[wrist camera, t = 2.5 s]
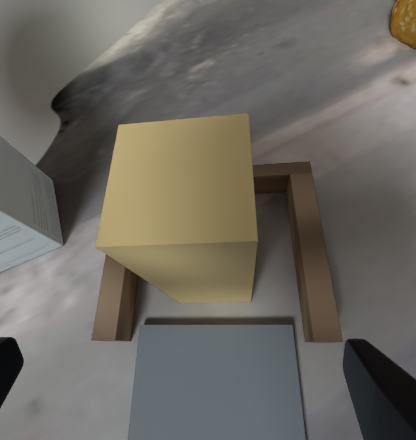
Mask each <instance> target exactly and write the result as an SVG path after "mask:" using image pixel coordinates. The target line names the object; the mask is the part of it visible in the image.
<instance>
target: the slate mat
mask: <svg viewBox="0 0 416 440" xmlns="http://www.w3.org/2000/svg"><path fill="white" fill-rule="evenodd" d="M128 440H306V438H305V429H304V421H303V412H302V403H301V394H300V386H299V377H298V368H297V360H296V351H295V342H294V333H293V325H140V329H139V338H138V348H137V358H136V367H135V377H134V386H133V396H132V405H131V415H130V424H129V434H128Z"/></svg>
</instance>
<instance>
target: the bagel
mask: <svg viewBox="0 0 416 440" xmlns="http://www.w3.org/2000/svg"><path fill="white" fill-rule="evenodd" d="M390 28H391V34H392V36H393V37H395V38H396V39H398V40H399V41H400V42H402V43H405V44H407V45H408V46H410V47H412V48H414V49H416V0H396V3H395V5H394V7H393V9H392V16H391V23H390Z"/></svg>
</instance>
